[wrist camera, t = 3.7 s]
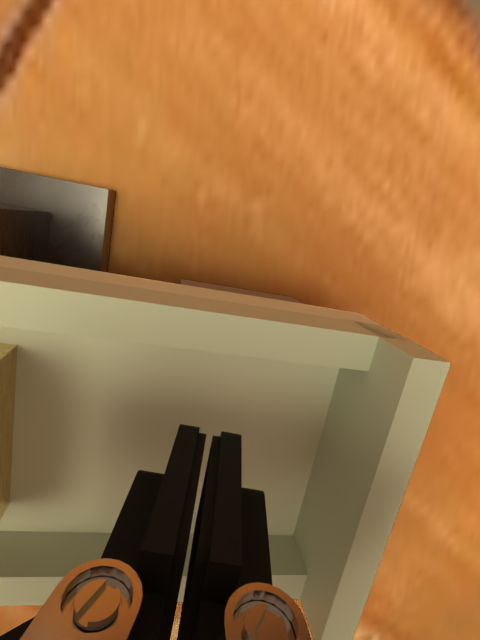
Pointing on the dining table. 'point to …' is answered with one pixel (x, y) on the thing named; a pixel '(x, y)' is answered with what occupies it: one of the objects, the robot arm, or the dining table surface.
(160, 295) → the balance beam
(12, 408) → the block
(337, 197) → the dining table surface
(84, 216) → the pivot stand
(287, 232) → the dining table surface
